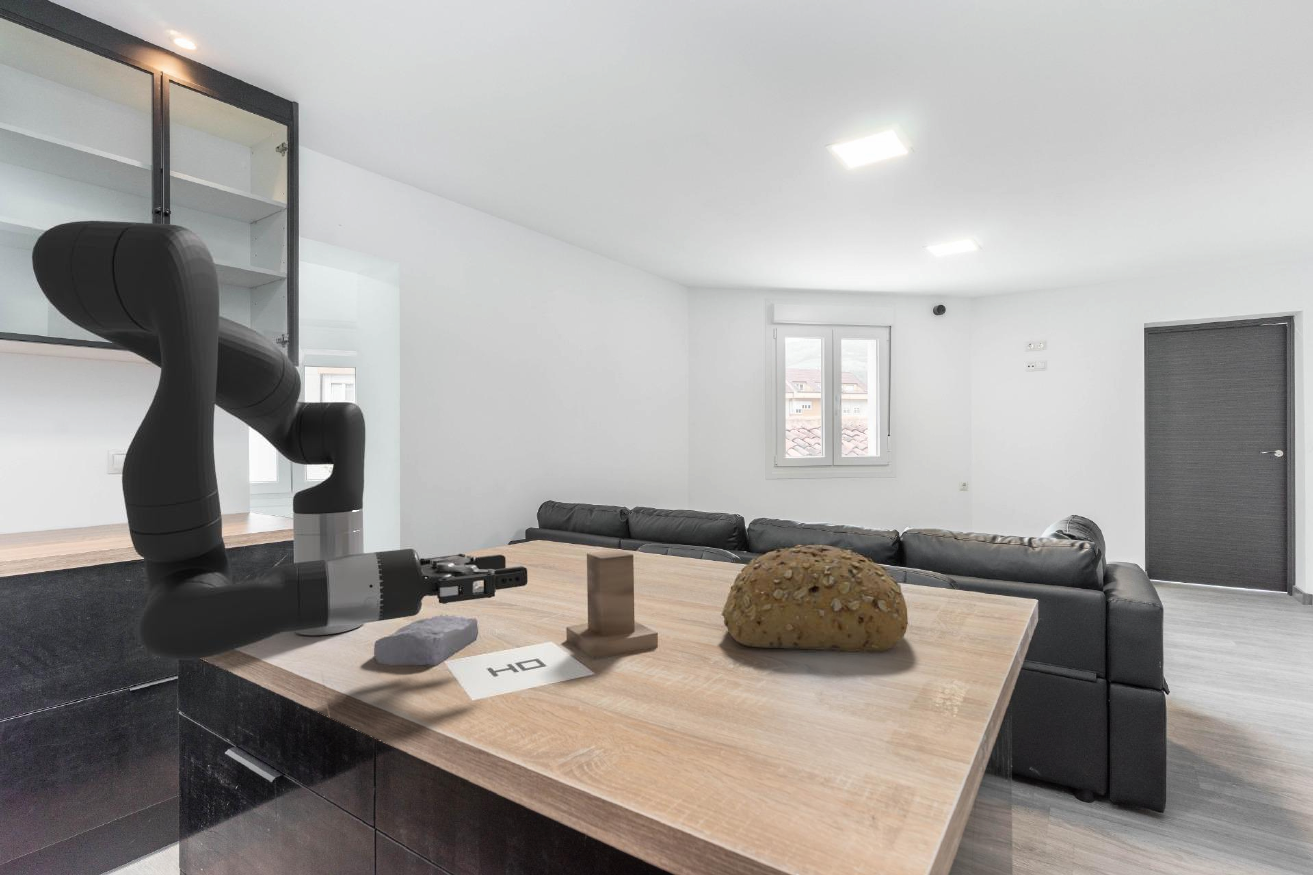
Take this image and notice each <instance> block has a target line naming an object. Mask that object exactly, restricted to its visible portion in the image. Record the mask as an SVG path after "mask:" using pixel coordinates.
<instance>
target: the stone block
mask: <svg viewBox="0 0 1313 875" xmlns="http://www.w3.org/2000/svg"><path fill="white" fill-rule="evenodd" d="M478 636H479V626H478V619H477V618H476V617H472V618H469V617H465V616H464V617H463V616H457V615H449V614H446V615H445V614H444V615H443V614H442V615H437V616H435V615H434V616H433V617H430V618H429V617H427V618H425V619H424V618H423V619H419V620H416V621H412V622H410V623H409V624H407V625H404V626H402V627H400V628H399V629H397V630H396V631H395V632H394V633H392V634H390V635H387V636H383V637H380V638H379V639H377V640H376V641H375V642H374V647H373V654H374V658H375V661H376V662H377V663H378V664H385V665H392V666H394V665H396V666H399V665H400V666H404V665H405V666H407V665H410V666H411V665H413V666H430V667H431V666H433V667H434V666H438V665H440V664H441V663H444V661H447V660H448V659H449V658H451V657H453V656H454V655H455V654H457V653H458V652H460V651H461V650H463V649H464V648H466V647H467V646H469V645H471V644H472V643H474V642H475V641H477V638H478Z"/></svg>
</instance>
